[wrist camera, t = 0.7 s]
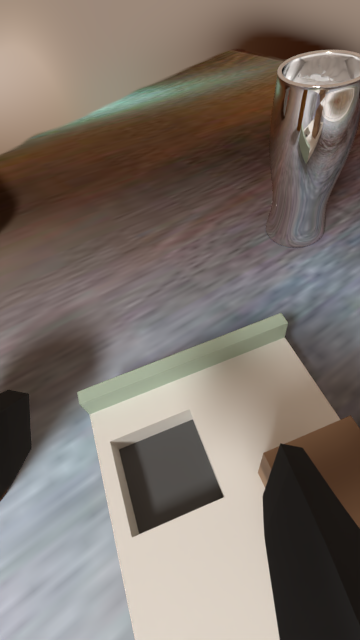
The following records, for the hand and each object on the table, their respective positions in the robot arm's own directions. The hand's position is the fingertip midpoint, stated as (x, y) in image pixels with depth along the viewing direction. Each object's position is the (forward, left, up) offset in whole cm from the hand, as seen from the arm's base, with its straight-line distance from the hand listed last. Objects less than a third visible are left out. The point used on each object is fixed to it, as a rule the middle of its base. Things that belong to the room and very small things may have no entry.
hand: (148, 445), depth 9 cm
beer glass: (+21, -20, -16) cm, 33 cm away
